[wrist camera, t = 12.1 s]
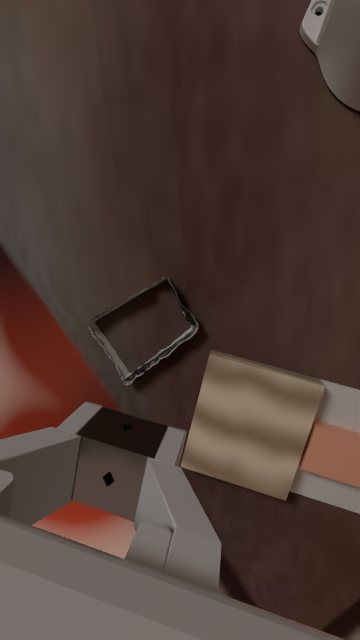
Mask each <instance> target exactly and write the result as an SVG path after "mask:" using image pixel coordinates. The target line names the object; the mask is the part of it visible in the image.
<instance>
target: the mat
mask: <svg viewBox="0 0 360 640" xmlns="http://www.w3.org/2000/svg"><path fill="white" fill-rule="evenodd" d="M320 380H321V379H320ZM321 381H322V382H323V384H324V385H325V389H324V392H323V395H322V398H321V401H320V404H319V407H318V409H317V412H316V415H315V418H314V419H315V420H318V421H322V422H325V423H328V424H332V425H335V426H338V427H342V428H345V429H348V430H352V431H355V432H358V433H360V390H358V389H354V388H351V387H347V386H343V385H340V384H336V383H332V382H329V381H325V380H321ZM290 491H291V492H294V493H297V494H300V495H303V496H306V497H309V498H312V499H315V500H318V501H322V502H325V503H328V504H331V505H334V506H337V507H340V508H343V509H346V510H349V511H353V512H356V513H359V514H360V488H359V487H356V486H353V485H350V484H346V483H343V482H340V481H337V480H334V479H331V478H328V477H325V476H321V475H318V474H315V473H312V472H309V471H306V470H303V469H301V468H300V464H298V467H297V470H296V473H295V476H294V479H293V482H292V485H291V488H290Z"/></svg>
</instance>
